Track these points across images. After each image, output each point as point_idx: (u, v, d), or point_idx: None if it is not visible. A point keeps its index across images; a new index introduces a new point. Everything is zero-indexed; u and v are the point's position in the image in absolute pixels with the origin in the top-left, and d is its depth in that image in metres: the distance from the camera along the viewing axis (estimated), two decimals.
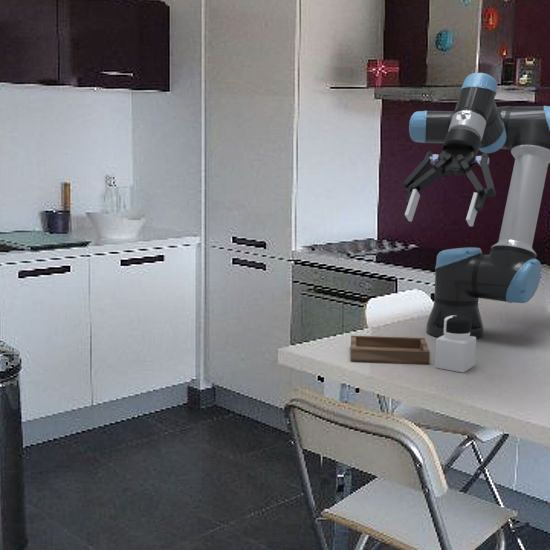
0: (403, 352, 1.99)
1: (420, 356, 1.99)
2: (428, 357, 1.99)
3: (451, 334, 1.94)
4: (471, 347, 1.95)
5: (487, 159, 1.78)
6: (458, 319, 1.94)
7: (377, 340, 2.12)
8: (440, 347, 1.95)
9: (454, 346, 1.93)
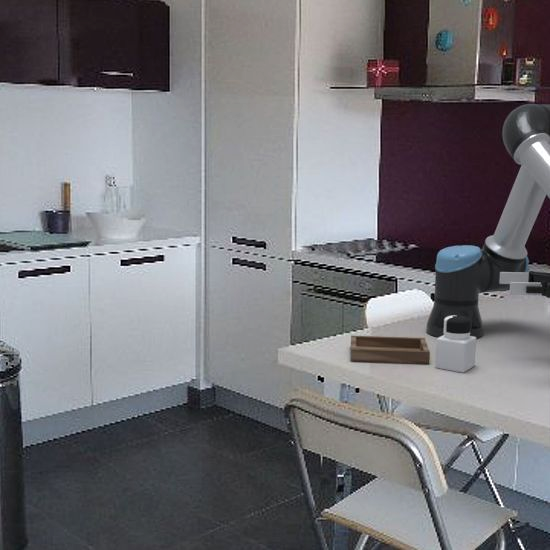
0: (403, 352, 1.99)
1: (420, 356, 1.99)
2: (428, 357, 1.99)
3: (451, 334, 1.94)
4: (471, 347, 1.95)
5: None
6: (458, 319, 1.94)
7: (377, 340, 2.12)
8: (440, 347, 1.95)
9: (454, 346, 1.93)
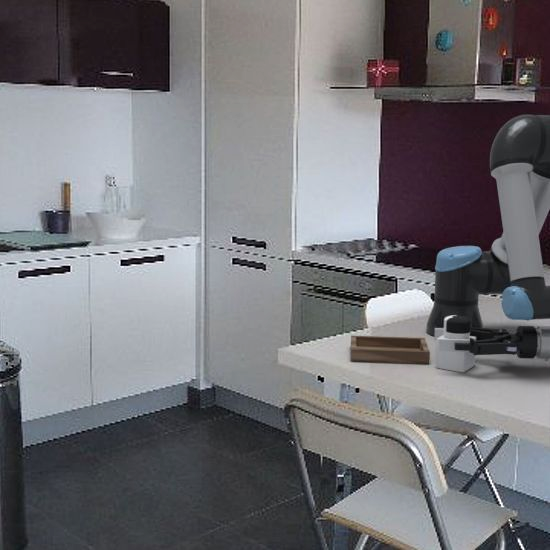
0: (403, 352, 1.99)
1: (420, 356, 1.99)
2: (428, 357, 1.99)
3: (451, 334, 1.94)
4: None
5: None
6: (458, 319, 1.94)
7: (377, 340, 2.12)
8: None
9: None
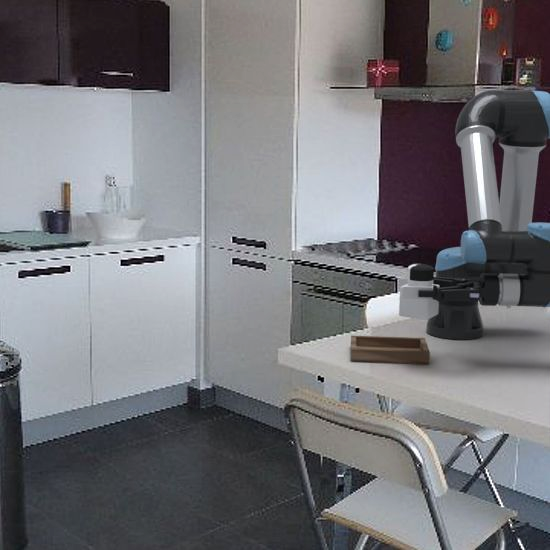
0: (403, 352, 1.99)
1: (420, 356, 1.99)
2: (428, 357, 1.99)
3: (415, 281, 1.95)
4: None
5: None
6: (421, 267, 1.95)
7: (377, 340, 2.12)
8: None
9: None
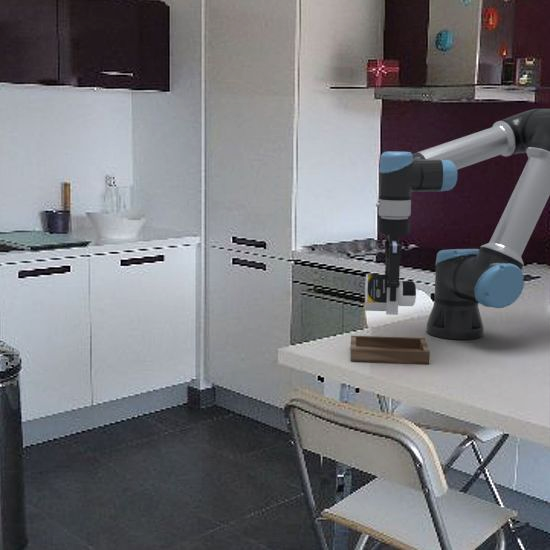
0: (403, 352, 1.99)
1: (420, 356, 1.99)
2: (428, 357, 1.99)
3: None
4: None
5: (392, 249, 1.95)
6: None
7: (377, 340, 2.12)
8: None
9: None
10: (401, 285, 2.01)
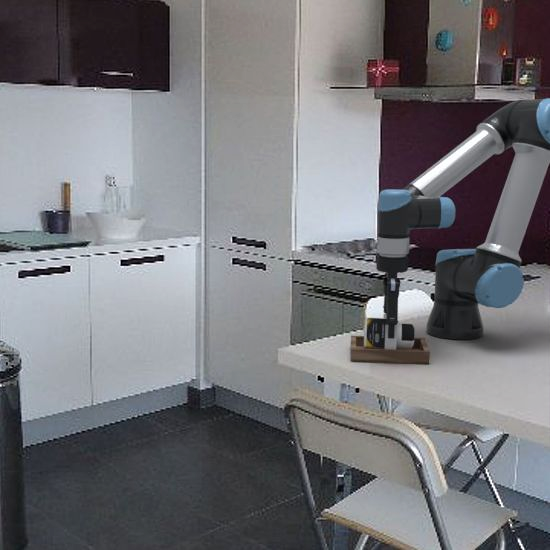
0: (403, 352, 1.99)
1: (420, 356, 1.99)
2: (428, 357, 1.99)
3: None
4: None
5: (390, 287, 1.97)
6: None
7: None
8: None
9: None
10: (400, 330, 2.03)
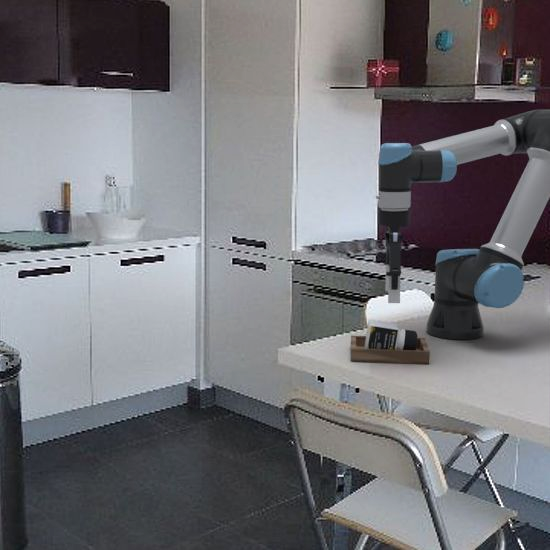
0: (403, 352, 1.99)
1: (420, 356, 1.99)
2: (428, 357, 1.99)
3: None
4: (390, 325, 2.03)
5: (392, 238, 1.95)
6: None
7: None
8: None
9: None
10: (403, 340, 2.01)
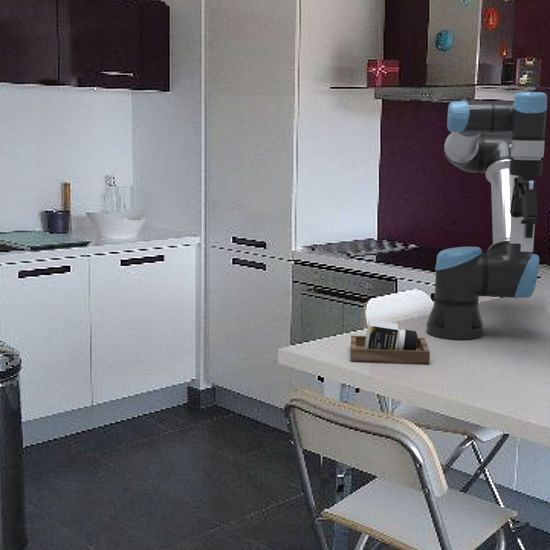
0: (403, 352, 1.99)
1: (420, 356, 1.99)
2: (428, 357, 1.99)
3: None
4: (390, 325, 2.03)
5: (528, 186, 1.95)
6: None
7: None
8: None
9: None
10: (403, 340, 2.01)
